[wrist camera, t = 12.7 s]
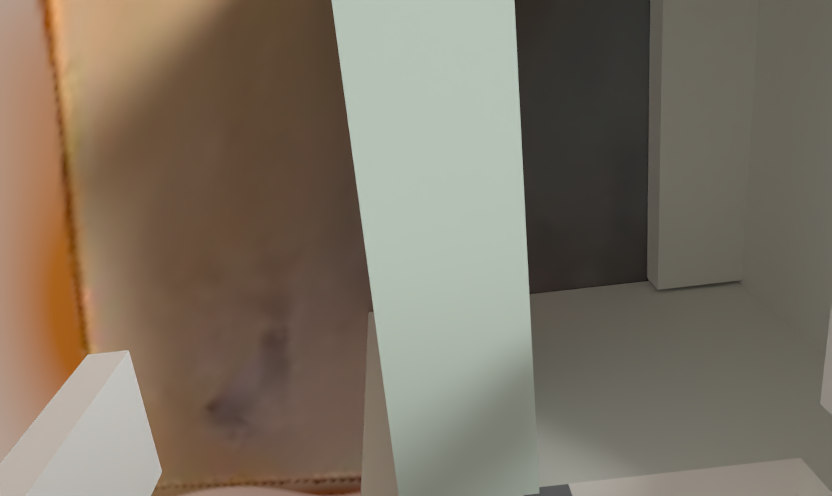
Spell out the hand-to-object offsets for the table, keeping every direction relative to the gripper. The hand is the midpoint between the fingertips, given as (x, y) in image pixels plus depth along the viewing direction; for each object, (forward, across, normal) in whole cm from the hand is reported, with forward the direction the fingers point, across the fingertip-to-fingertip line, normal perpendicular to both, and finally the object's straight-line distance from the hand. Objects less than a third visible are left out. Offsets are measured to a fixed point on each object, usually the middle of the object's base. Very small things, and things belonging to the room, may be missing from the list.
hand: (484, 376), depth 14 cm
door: (+17, 0, 0) cm, 17 cm away
